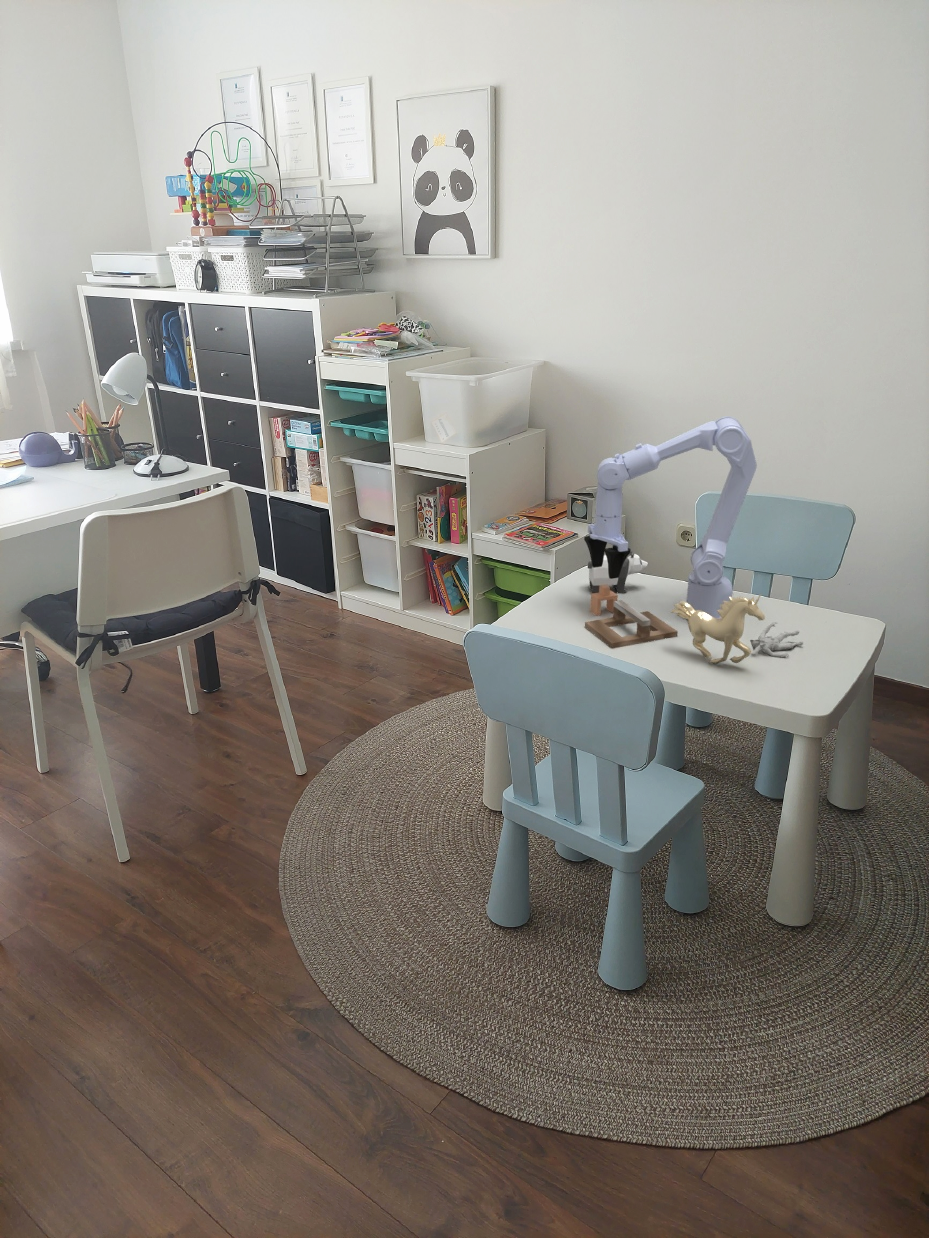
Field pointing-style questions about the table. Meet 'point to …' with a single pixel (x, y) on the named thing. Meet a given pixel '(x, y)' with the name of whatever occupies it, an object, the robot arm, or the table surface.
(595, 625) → the brown wooden frame
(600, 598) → the block
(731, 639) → the unicorn
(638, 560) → the giant panda
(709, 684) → the table surface
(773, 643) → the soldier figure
